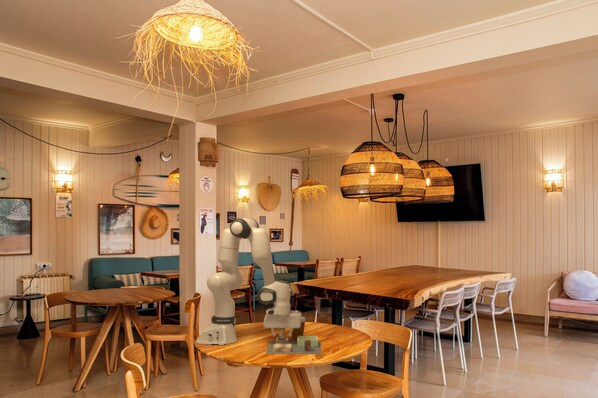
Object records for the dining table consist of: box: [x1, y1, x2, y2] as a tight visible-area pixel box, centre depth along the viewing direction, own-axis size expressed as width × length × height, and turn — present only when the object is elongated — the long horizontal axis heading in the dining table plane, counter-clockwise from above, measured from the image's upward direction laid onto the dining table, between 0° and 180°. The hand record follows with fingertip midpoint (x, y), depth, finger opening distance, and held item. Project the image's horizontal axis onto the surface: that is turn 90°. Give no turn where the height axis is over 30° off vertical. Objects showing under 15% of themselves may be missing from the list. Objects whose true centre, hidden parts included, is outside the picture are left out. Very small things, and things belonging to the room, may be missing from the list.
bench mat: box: [265, 340, 322, 355], centre depth 244 cm, size 28×26×1 cm
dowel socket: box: [275, 336, 289, 344], centre depth 250 cm, size 6×6×3 cm
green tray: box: [296, 335, 319, 347], centre depth 250 cm, size 11×10×4 cm
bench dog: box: [305, 340, 311, 351], centre depth 238 cm, size 3×3×5 cm
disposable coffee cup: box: [291, 316, 306, 340], centre depth 267 cm, size 10×10×12 cm
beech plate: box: [273, 344, 292, 352], centre depth 238 cm, size 9×7×2 cm
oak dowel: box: [278, 328, 286, 340], centre depth 250 cm, size 3×3×9 cm
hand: (282, 336), depth 250 cm, fingers open, 7 cm apart
